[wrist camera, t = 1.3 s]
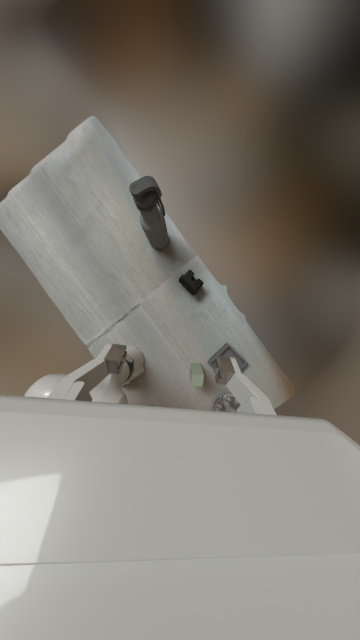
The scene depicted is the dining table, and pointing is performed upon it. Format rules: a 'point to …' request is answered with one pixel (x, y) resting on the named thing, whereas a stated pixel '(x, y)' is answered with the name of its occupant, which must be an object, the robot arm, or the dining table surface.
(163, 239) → the water bottle
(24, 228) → the dining table surface
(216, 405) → the brain slice
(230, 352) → the grey tray
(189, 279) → the end cap
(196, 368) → the sage block
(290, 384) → the dining table surface
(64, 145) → the dining table surface
